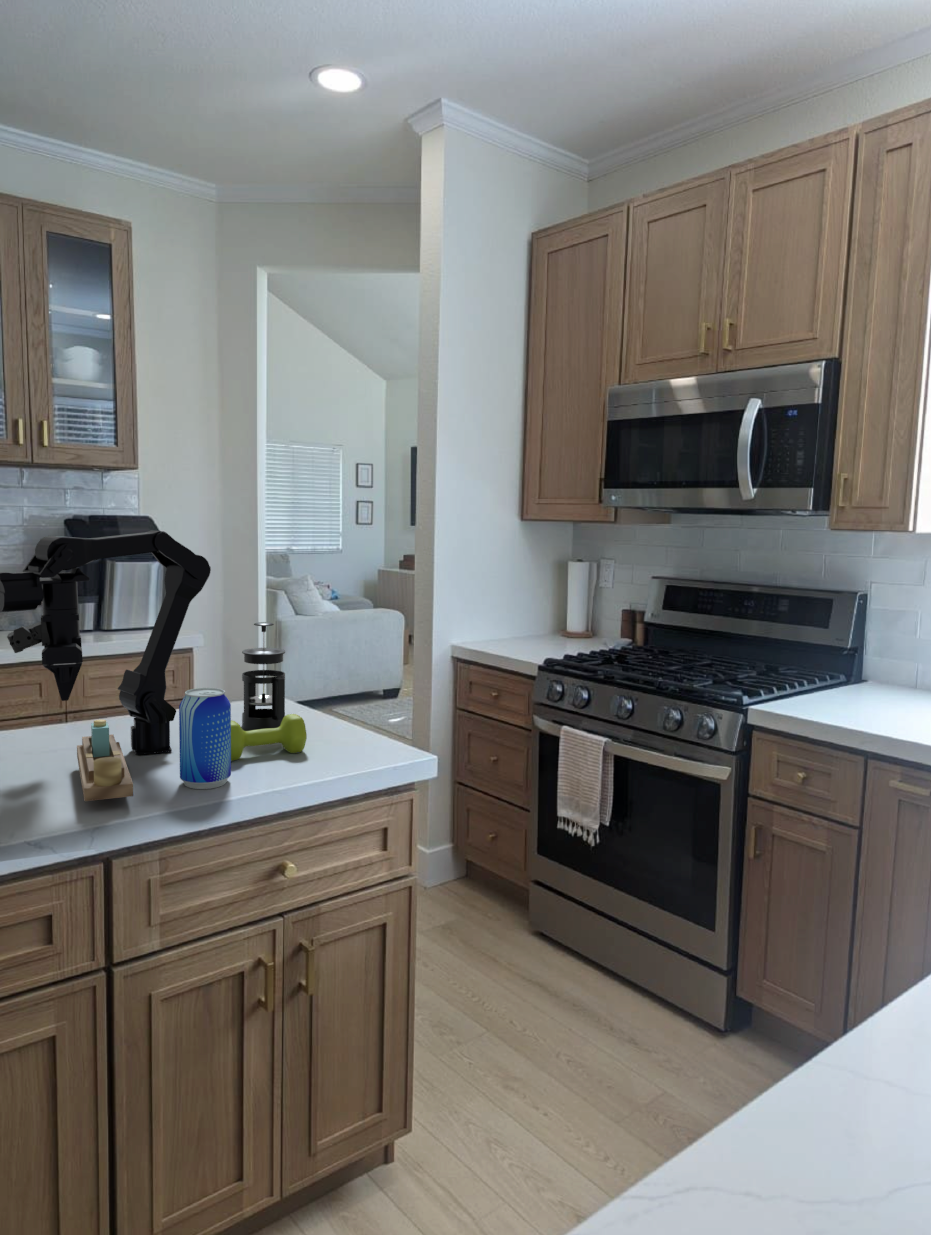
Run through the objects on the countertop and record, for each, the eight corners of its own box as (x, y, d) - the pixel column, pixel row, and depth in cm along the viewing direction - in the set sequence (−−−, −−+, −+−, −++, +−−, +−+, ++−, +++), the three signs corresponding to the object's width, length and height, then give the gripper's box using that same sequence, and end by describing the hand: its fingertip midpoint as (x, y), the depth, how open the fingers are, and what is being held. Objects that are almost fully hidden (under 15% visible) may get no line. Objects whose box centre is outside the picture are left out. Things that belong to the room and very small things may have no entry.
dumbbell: (225, 765, 161) (224, 727, 160) (214, 754, 167) (213, 718, 166) (310, 755, 169) (310, 719, 168) (296, 745, 176) (296, 710, 175)
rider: (107, 749, 154) (107, 717, 153) (109, 755, 150) (108, 722, 149) (91, 751, 152) (91, 718, 152) (93, 757, 149) (92, 724, 148)
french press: (230, 727, 188) (230, 621, 185) (267, 720, 195) (267, 618, 192) (262, 737, 180) (262, 627, 177) (299, 730, 187) (300, 624, 184)
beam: (119, 763, 159) (118, 723, 159) (133, 808, 136) (132, 761, 135) (77, 767, 156) (76, 726, 155) (84, 813, 133) (83, 766, 132)
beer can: (203, 793, 144) (202, 699, 142) (169, 784, 149) (168, 692, 147) (241, 781, 151) (241, 691, 149) (207, 772, 156) (207, 684, 154)
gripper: (12, 603, 158) (17, 687, 160) (5, 617, 141) (10, 710, 143) (79, 601, 163) (83, 683, 165) (80, 614, 146) (84, 705, 148)
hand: (65, 694), depth 155 cm, fingers open, 9 cm apart
